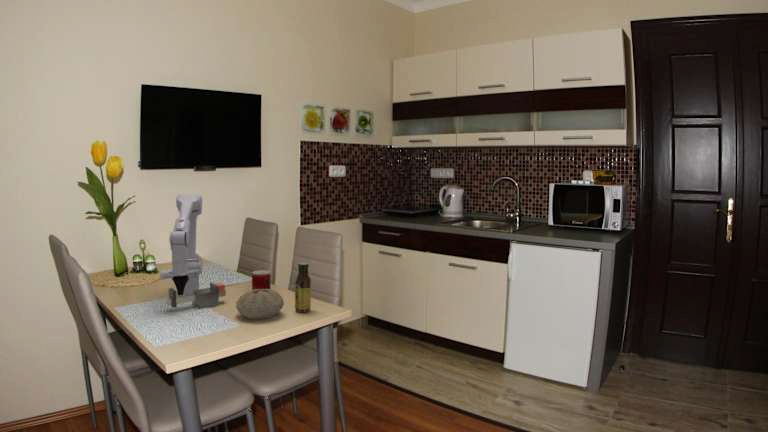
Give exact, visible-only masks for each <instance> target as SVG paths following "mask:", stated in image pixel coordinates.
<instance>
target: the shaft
mask: <svg viewBox="0 0 768 432" xmlns="http://www.w3.org/2000/svg"><path fill="white" fill-rule="evenodd" d="M226 291H227V290H226V289H225V291H222V292H218V295H219V298H222V297H226V296H227V294H226ZM165 300H166V301H165V303H166V305H167V306H170V307H171V308H177V305H178V304H179V305H180V304H184V303H191V302H192V303H193V301H197V294H196V293H195V294H189V295H182V296H181V295H178V296H177V289H174V288H173V287H170V288H168V297H166V299H165Z"/></svg>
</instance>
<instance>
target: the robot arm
mask: <svg viewBox="0 0 768 432" xmlns="http://www.w3.org/2000/svg"><path fill="white" fill-rule="evenodd" d="M175 199H176V202H175V203H176V208H177V210H178V212H179V217H178V218H177V219H175V222H174V226H173V231H172V232H170V233H169V245H170V251H171V266H172V267H171V270H172V271H168V272H164V273H160V274H159V279H160V280H162V281H163V280H166V279H171V280H172V281H173V283H174V285H175V288H176V294H177V295H178V296H182V295H189V294H193V290H198V289H200V275H201V274H202V273H203V267H204V266H203V257H202V255H200V254H198V252H197V250H196V248H197V220H198V216H199V215H201V214H202V212H203V197H202V195H201V194H198V195H197V194H196V195H195V194H194V195H193V194H178V195H177V196H176V198H175Z"/></svg>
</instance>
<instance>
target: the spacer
mask: <svg viewBox="0 0 768 432" xmlns="http://www.w3.org/2000/svg"><path fill="white" fill-rule="evenodd" d="M215 284H216V285H218V292H222V291H225V290H226V285H225V284H224V283H222V282H219V283H218V282H217V283H215Z"/></svg>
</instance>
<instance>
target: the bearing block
mask: <svg viewBox="0 0 768 432" xmlns="http://www.w3.org/2000/svg"><path fill="white" fill-rule="evenodd" d="M216 284H217V283H214V282H209V287H207V288H205V287H204V288H201V289H200V288H199V289H198V290H193V294H195V293H196V294H197V301H192V305H193V306H194V305H195V308H197V307H198V308H197V309H199V310H200V308H201V309H206V308H211V307H217V306H219V305H220V304H219V303H220V302H219V301H220V300H219V298H220V297H219V295H218V285H216Z"/></svg>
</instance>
